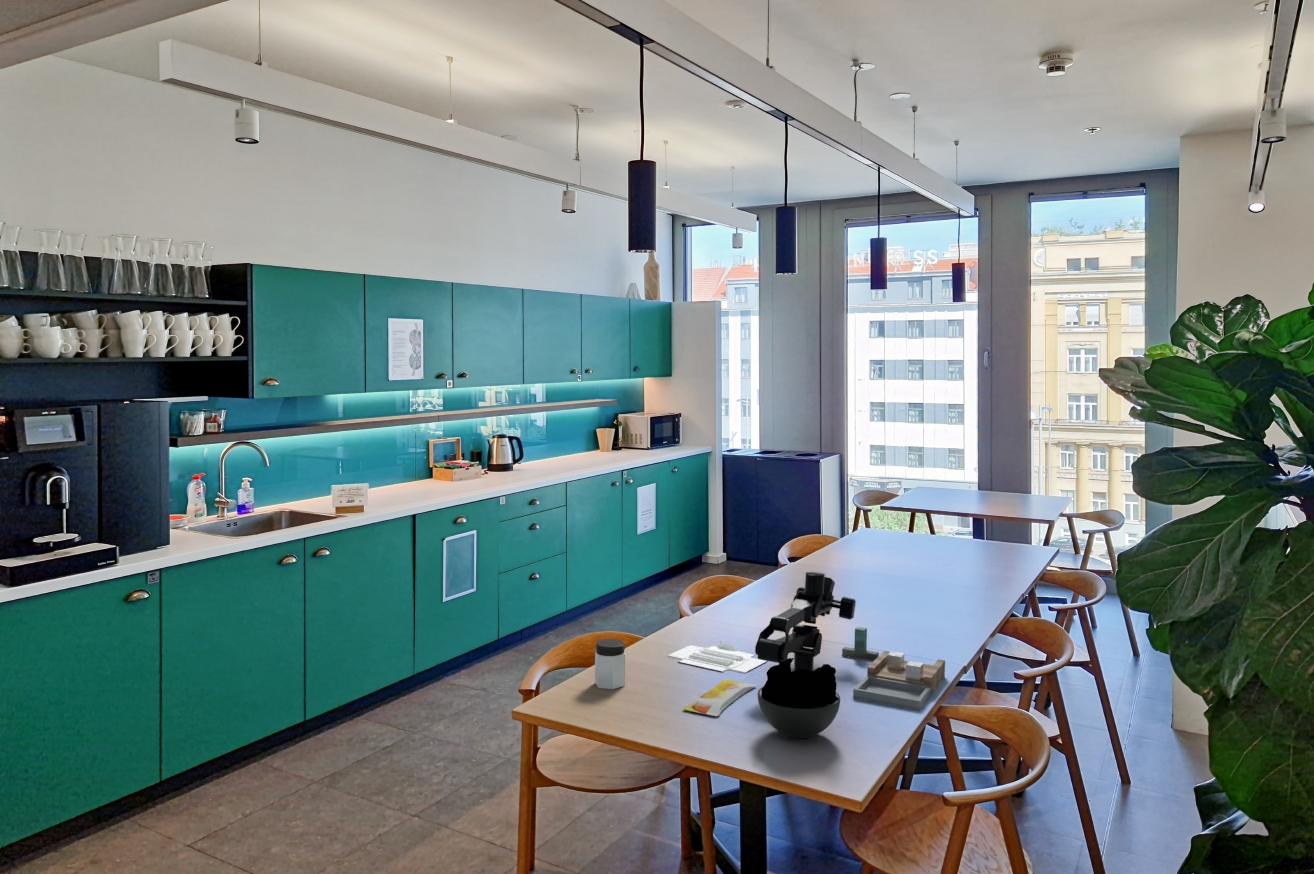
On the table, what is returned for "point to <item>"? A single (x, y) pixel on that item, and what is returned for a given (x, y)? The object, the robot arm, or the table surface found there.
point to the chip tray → (892, 692)
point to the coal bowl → (799, 699)
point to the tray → (717, 658)
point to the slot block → (930, 672)
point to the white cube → (895, 660)
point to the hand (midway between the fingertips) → (834, 600)
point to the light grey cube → (914, 671)
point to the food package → (719, 697)
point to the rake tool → (860, 647)
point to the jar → (610, 664)
